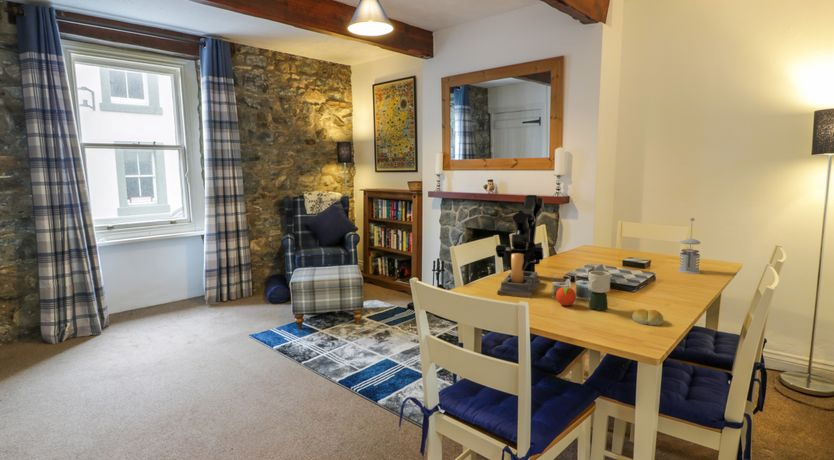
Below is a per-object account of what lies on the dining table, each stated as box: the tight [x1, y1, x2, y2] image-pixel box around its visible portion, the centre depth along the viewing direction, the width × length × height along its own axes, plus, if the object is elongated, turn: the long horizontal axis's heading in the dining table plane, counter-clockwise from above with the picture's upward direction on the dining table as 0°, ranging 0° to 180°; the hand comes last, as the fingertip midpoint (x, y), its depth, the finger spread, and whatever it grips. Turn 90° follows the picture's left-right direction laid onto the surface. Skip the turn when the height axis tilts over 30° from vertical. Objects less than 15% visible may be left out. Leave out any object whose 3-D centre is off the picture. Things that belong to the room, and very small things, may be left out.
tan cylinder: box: [510, 253, 524, 284], centre depth 186 cm, size 5×5×12 cm
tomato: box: [555, 285, 577, 307], centre depth 168 cm, size 8×7×7 cm
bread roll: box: [631, 308, 664, 326], centre depth 150 cm, size 8×9×4 cm
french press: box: [676, 217, 702, 275], centre depth 214 cm, size 10×12×25 cm
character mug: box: [587, 270, 611, 311], centre depth 163 cm, size 11×7×13 cm, turn 134°
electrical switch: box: [587, 263, 605, 275], centre depth 191 cm, size 9×5×9 cm, turn 141°
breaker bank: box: [496, 271, 541, 299], centre depth 193 cm, size 25×13×6 cm, turn 157°
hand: (516, 269), depth 185 cm, fingers closed on tan cylinder, 5 cm apart
